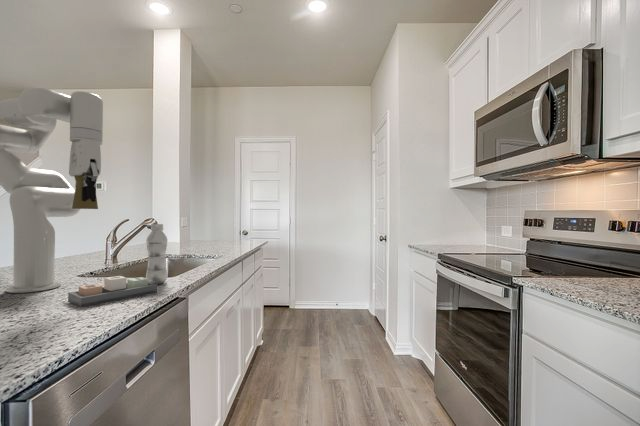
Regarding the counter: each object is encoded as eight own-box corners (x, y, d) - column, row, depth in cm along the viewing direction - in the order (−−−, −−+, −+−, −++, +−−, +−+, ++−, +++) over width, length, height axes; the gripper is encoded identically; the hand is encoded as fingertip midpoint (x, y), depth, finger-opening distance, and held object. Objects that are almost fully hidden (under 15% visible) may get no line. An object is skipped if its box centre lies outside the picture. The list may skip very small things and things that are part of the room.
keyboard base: (68, 302, 84) (68, 292, 84) (142, 288, 99) (142, 280, 99) (81, 308, 79) (81, 298, 79) (157, 293, 94) (157, 284, 94)
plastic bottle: (144, 286, 102) (144, 224, 102) (147, 282, 108) (147, 224, 108) (166, 285, 104) (166, 224, 104) (168, 281, 110) (168, 223, 110)
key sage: (127, 289, 94) (127, 278, 94) (141, 287, 97) (141, 276, 97) (133, 291, 91) (133, 280, 91) (147, 288, 94) (148, 278, 94)
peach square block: (78, 298, 84) (78, 286, 84) (96, 294, 87) (96, 283, 87) (84, 300, 81) (84, 288, 81) (102, 297, 85) (102, 285, 85)
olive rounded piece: (84, 208, 87) (84, 168, 87) (66, 208, 88) (66, 168, 88) (103, 209, 93) (104, 171, 93) (86, 208, 94) (86, 171, 94)
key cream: (104, 288, 89) (104, 277, 89) (119, 286, 92) (120, 275, 92) (110, 290, 86) (110, 279, 86) (126, 288, 90) (126, 277, 90)
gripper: (60, 138, 92) (59, 201, 92) (82, 130, 83) (80, 200, 83) (90, 143, 98) (89, 202, 98) (113, 136, 89) (112, 201, 89)
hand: (85, 200), depth 90 cm, fingers closed on olive rounded piece, 4 cm apart
